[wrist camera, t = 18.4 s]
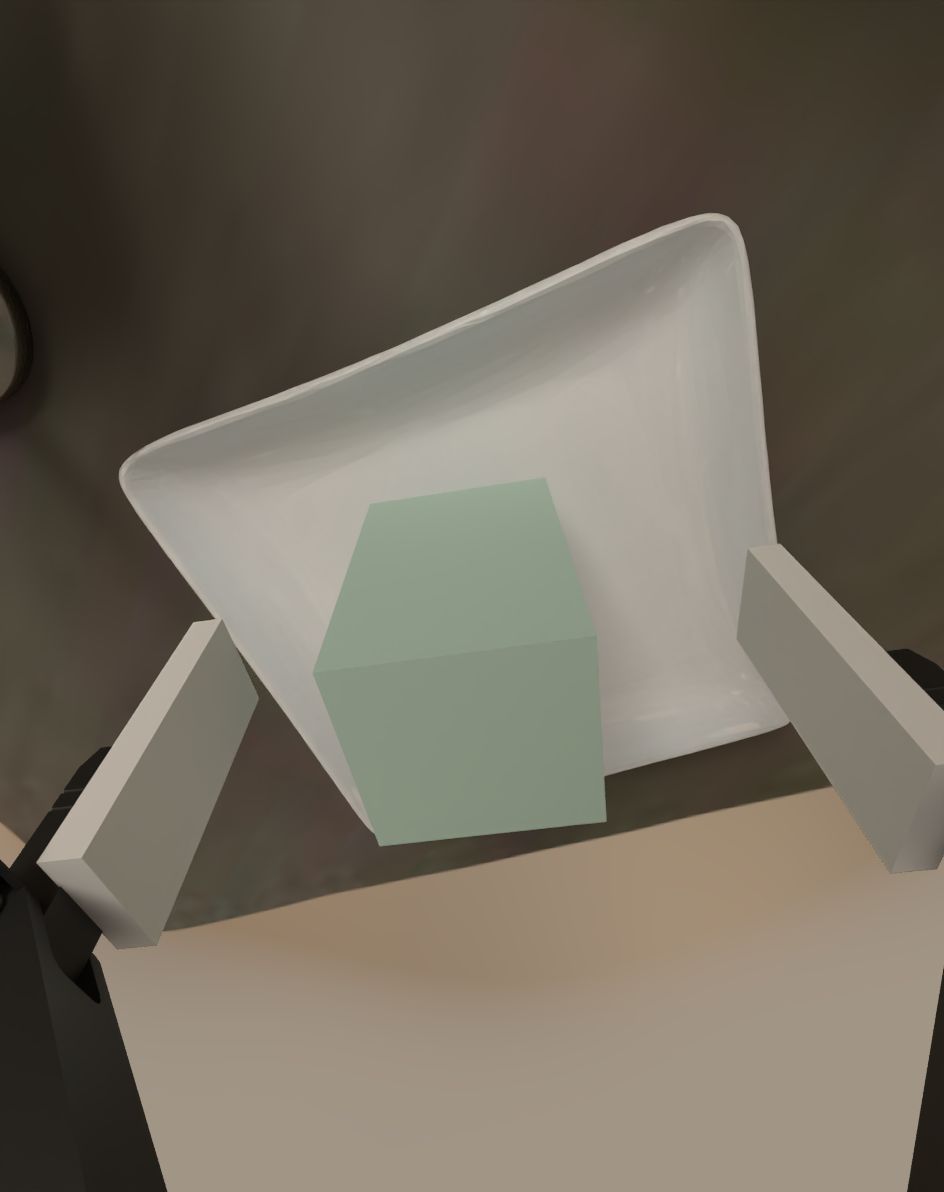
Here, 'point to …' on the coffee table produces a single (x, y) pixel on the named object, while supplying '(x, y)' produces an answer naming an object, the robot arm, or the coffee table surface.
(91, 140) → the coffee table surface
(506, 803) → the block
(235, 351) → the coffee table surface
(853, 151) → the coffee table surface
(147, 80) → the coffee table surface
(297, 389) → the salad plate
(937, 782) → the robot arm
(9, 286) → the balance
